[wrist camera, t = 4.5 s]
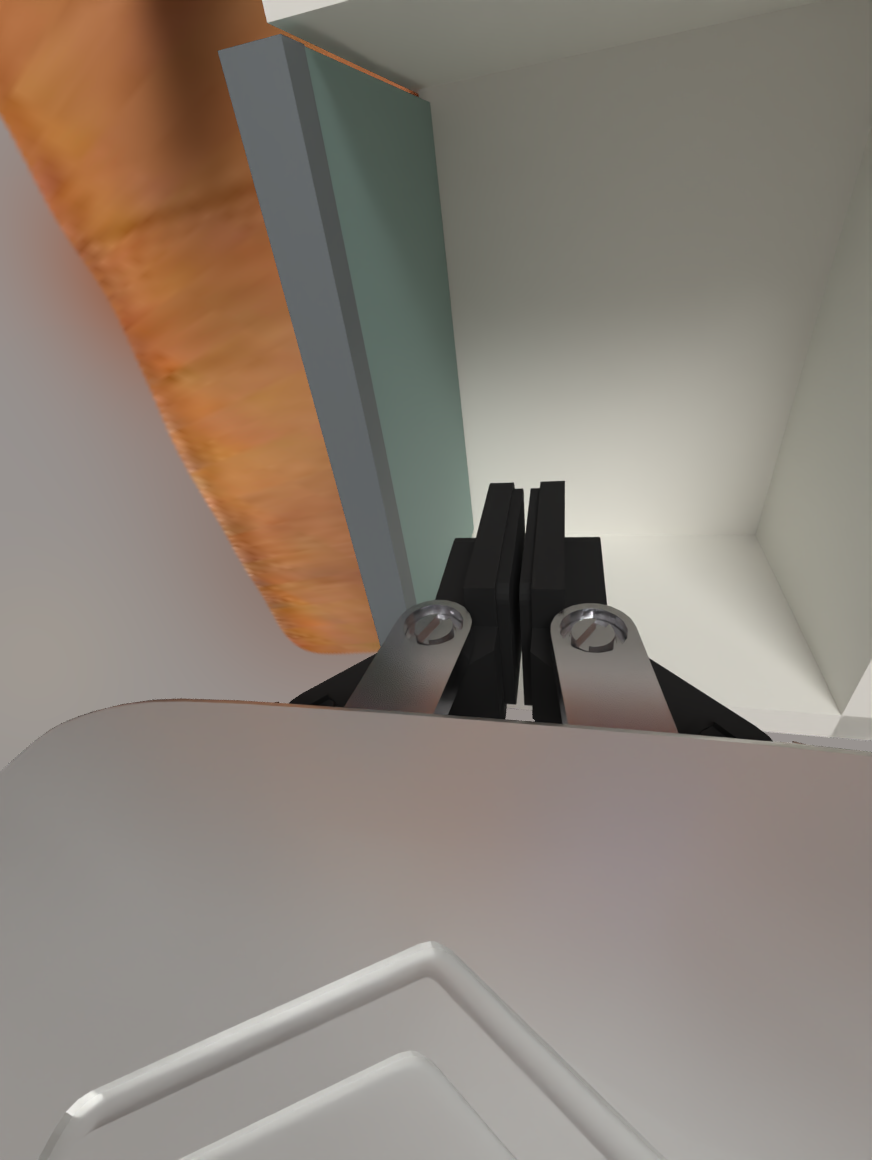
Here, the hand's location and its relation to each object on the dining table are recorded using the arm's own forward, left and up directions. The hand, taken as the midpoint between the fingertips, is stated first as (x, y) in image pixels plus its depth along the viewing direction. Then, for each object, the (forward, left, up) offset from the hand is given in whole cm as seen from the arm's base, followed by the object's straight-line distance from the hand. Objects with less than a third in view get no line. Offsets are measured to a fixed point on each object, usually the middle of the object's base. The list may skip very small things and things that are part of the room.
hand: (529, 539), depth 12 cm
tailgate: (0, -5, -14) cm, 15 cm away
